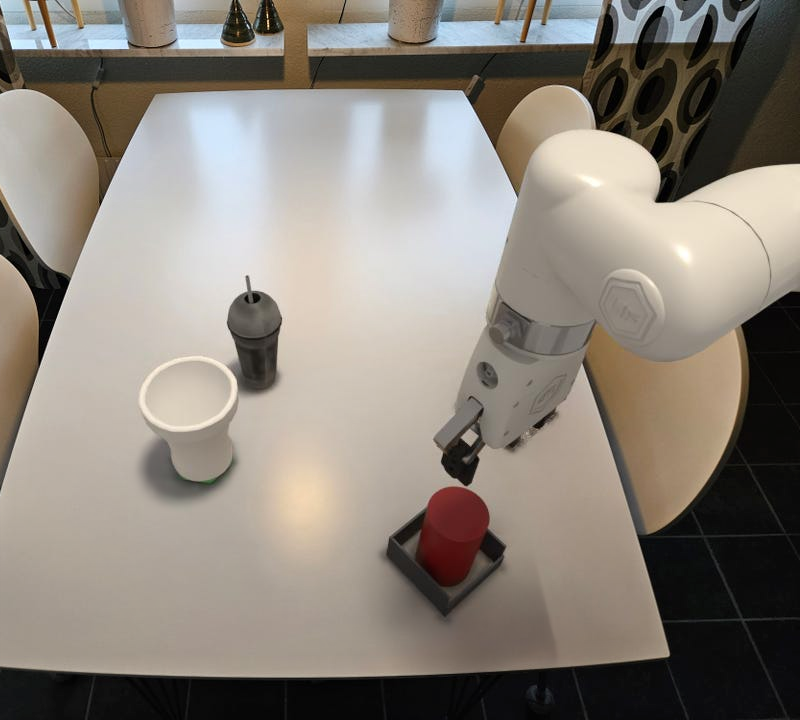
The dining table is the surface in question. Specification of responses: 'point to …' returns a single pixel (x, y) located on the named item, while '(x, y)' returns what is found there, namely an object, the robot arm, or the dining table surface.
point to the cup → (192, 414)
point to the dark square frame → (422, 579)
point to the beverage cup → (255, 335)
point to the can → (452, 534)
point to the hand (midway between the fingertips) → (492, 445)
